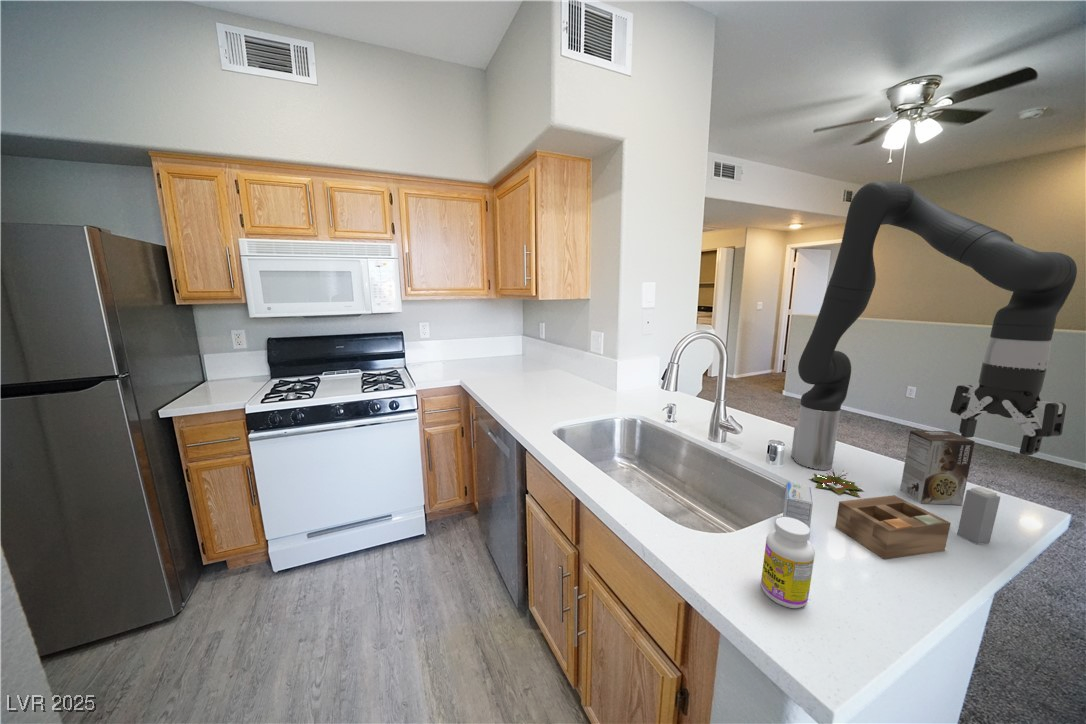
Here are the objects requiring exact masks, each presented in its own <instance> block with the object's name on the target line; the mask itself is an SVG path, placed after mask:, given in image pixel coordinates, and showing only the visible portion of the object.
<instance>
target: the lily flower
mask: <svg viewBox="0 0 1086 724" xmlns="http://www.w3.org/2000/svg"><path fill="white" fill-rule="evenodd" d="M845 471H846V470H842V473H844V472H845ZM825 474H826V475H822V474H819V473H818V475H820V476H822V477H825V478H827V479H825V478H822V477H817V476H816V475H815V474H814V477H812V478H811V479H813V480H812V481H815V482H817V483H816V486H815V487H816V488H819V489H828V490H833V491H834V492H835V493H836V494H837V495H838V496H840V495H841V494H842V493H845V494H850V495H852V496H855V497H858V498H859V499H862V498H861V496H860V494H859V493H858V492H857V491H856V490H858V491H860V492H861V491H862V492H864V490H863V489H861V488H859V487H858V485H856V482H855V481H851V480H847V475H849V473H848V472H847V473H845V474H842V475H841V474H840V475H836V472H835V471H834V469H833V468H831V469H829V471H828V472H826V473H825ZM829 474H830V475H829ZM833 476H834V477H833ZM844 476H845V477H844ZM842 477H843V478H842ZM832 482H833V483H832ZM834 482H835V483H834ZM843 482H845V483H843ZM823 483H824V484H826V486H825V487H823V485H822V484H823ZM827 483H831V484H833V485H831V484H830V485H829V484H827ZM850 483H851V484H850ZM838 484H839V486H840V485H841V487H837V486H838ZM834 485H835V486H834ZM842 486H843V487H842ZM827 487H829V488H827Z"/></svg>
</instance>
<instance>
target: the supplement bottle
mask: <svg viewBox="0 0 1086 724" xmlns="http://www.w3.org/2000/svg"><path fill="white" fill-rule="evenodd" d="M810 534H811V528H810V529H809V527H808V526H807V525H806V524H805V523H803V522H801V521H799V520H797V519H794V518H790V517H783V516H779V517H777V518H776V519H775V521H774V529H773V530H771V531H770V532H768V533H767V535H766V538H765V539H766V540H765V548H764V555H763V564H762V572H761V580H760V585H761V589H762V591H763V593H765V595H766V596H767V597H768V598H770V599H771V601H773V602H775V603H777V604H778V605H781V606H783V607H786V608H790V609H791V608H792V609H800V608H803V607H804V606H806V605H807V603H808V601H809V596H810V591H811V590H810V587H811V582H812V574H813V568H814V561H815V557H816V556H815V555H816V550H815V547H814V546H813V544H812V542H811V541H810V540H808V539H810V537H811V536H810Z"/></svg>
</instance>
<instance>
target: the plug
mask: <svg viewBox="0 0 1086 724" xmlns="http://www.w3.org/2000/svg"><path fill="white" fill-rule="evenodd" d="M965 492H966V493H965V494H964V499H963V504H962V505H963V506H962V510H961V515H960V519H959V523H958V528H957V533H956V535H957V536H960V537H961V538H963V539H965V540H968V541H969V542H971V543H973V544H975V545H982V544H988V543H989V542H990V543H991V539H992V535H993V530H994V525H995V522H996V517H997V514H998V513H997V512H998V509H999V505H1000V500H1001V496H1000V495H997V492H995V491H992V490H990V489H987V488H985V487H983V486H980V487H972V488H970V489H966V490H965ZM990 543H989V544H990Z"/></svg>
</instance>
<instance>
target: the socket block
mask: <svg viewBox="0 0 1086 724" xmlns="http://www.w3.org/2000/svg"><path fill="white" fill-rule="evenodd" d="M835 521H836V522H835V526H834V527H835V528H837V530H839V531H841V532H842V533H843V534H845V535H847V536H849V537H850V538H851V539H852V540H854V541H856V542H857V543H859V544H860V545H861V546H863V547H865V548H866V549H868V550H869V551H871V552H873V553H874V554H875V555H877V556H878V557H880V558H881V559H883V560H887V559H895V558H904V557H911V556H917V555H923V554H931V553H936V552H937V553H940V552H944V551H946V547H947V542H948V538H949V533H950V528H951V523H952V522H950V521H948V520H946V519H944V518H942V517H940V516H938V515H936V514H934V513H932V512H930V511H927V510H926V509H924V508H922V507H920V506H918V505H915V504H913V503H911V502H910V501H908V500H906V499H904V498H901V497H900V496H897V495H895V494H894V495H885V496H876V497H868V498H867V497H866V498H858V499H849V500H848V499H847V500H841V501H838V506H837V513H836V520H835Z"/></svg>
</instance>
